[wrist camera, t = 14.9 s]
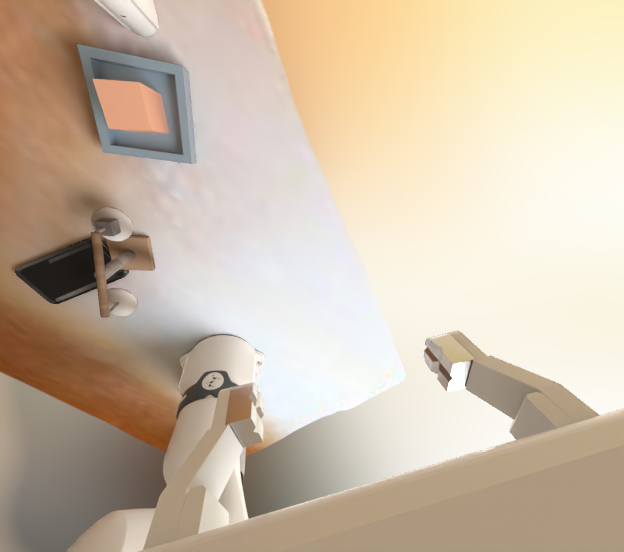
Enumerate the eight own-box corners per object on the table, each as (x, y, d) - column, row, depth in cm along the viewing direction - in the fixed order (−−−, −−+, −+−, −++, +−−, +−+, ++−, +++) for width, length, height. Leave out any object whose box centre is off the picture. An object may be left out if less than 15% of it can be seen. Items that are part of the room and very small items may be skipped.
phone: (129, 275, 41) (52, 305, 42) (132, 272, 42) (57, 302, 43) (94, 235, 37) (10, 270, 38) (99, 233, 38) (16, 267, 39)
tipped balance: (160, 292, 45) (130, 331, 35) (124, 292, 43) (84, 332, 34) (143, 205, 37) (100, 223, 28) (99, 201, 36) (38, 218, 26)
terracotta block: (169, 133, 33) (151, 130, 28) (134, 132, 32) (108, 128, 27) (160, 94, 31) (139, 82, 25) (122, 91, 30) (92, 78, 25)
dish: (196, 163, 36) (191, 163, 34) (113, 152, 33) (103, 152, 31) (188, 71, 31) (182, 65, 29) (91, 51, 28) (76, 43, 26)
